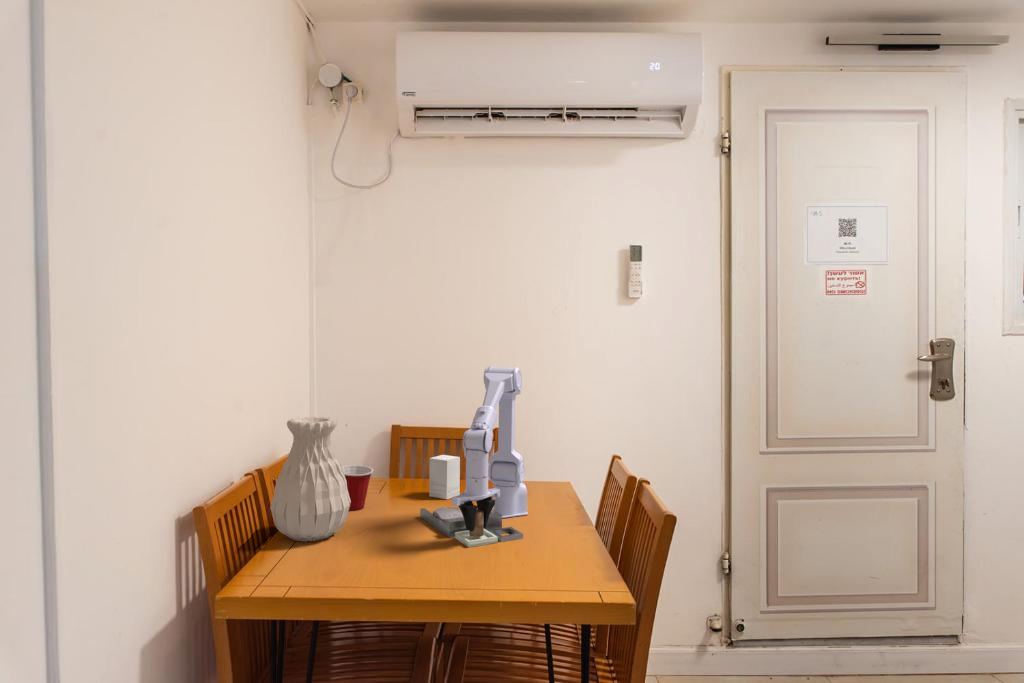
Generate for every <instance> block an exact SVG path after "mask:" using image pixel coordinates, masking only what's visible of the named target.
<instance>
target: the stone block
mask: <svg viewBox="0 0 1024 683" xmlns="http://www.w3.org/2000/svg"><path fill="white" fill-rule="evenodd" d="M431 513H432V514H434V515H435V516H437V517H438V518H440V519H441V520H443V521H444V522H445V519H452V518H459V517H463V515H462V512H461V510H460V508H459V507H451V506H446V507H445V506H442V507H438V508H436V509H434V510H433V511H432V512H431Z"/></svg>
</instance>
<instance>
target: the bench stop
mask: <svg viewBox="0 0 1024 683" xmlns="http://www.w3.org/2000/svg"><path fill="white" fill-rule="evenodd" d="M477 510H478V508H477ZM432 513H433V512H431V511H429V510H428V509H426V508H425V507H423V508H419V517H420V518H421V519H422V520H424V521H425V522H426V523H428V524H429V525H430V526H432V527H434V528H435V529H436V530H438V531H439V532H441V533H442V534H444V535H445V536H447V537H448V538H449V539H451V538H455V532H461V531H468V530H467V529H466V525H465V521H464V517H459V518H452V519H445V522H444V521H443V520H441V519H440V518H438V517H437V516H435V515H434V514H432ZM500 528H503V518H502V515H501V514H499V513H497V512H496V513H490V515H489V518H488V521H487V525H486V528H484V529H485V530H487V531H489V530H493V529H500Z"/></svg>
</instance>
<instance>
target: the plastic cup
mask: <svg viewBox="0 0 1024 683" xmlns="http://www.w3.org/2000/svg"><path fill="white" fill-rule="evenodd" d="M341 468H342V471H343V473H344V474H345V478H346V481H347V490H348V493H349V497H350V500H351V503H350V507H349V511H348V512H350V511H361V510H363V509H364V507H365V503H366V498H367V496H368V495H367V494H368V489H369V484H370V480H371V477H372V474H373V472H374V469H373V468H372V467H370V466H365V465H361V464H360V465H358V464H349V465H342V466H341Z"/></svg>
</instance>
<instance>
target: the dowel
mask: <svg viewBox="0 0 1024 683" xmlns="http://www.w3.org/2000/svg"><path fill="white" fill-rule="evenodd" d="M483 532H484V511H483V510H476V514H475V522H474V531H472V532H471V531H469V535H470V536H472V537H481V536H483Z"/></svg>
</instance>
